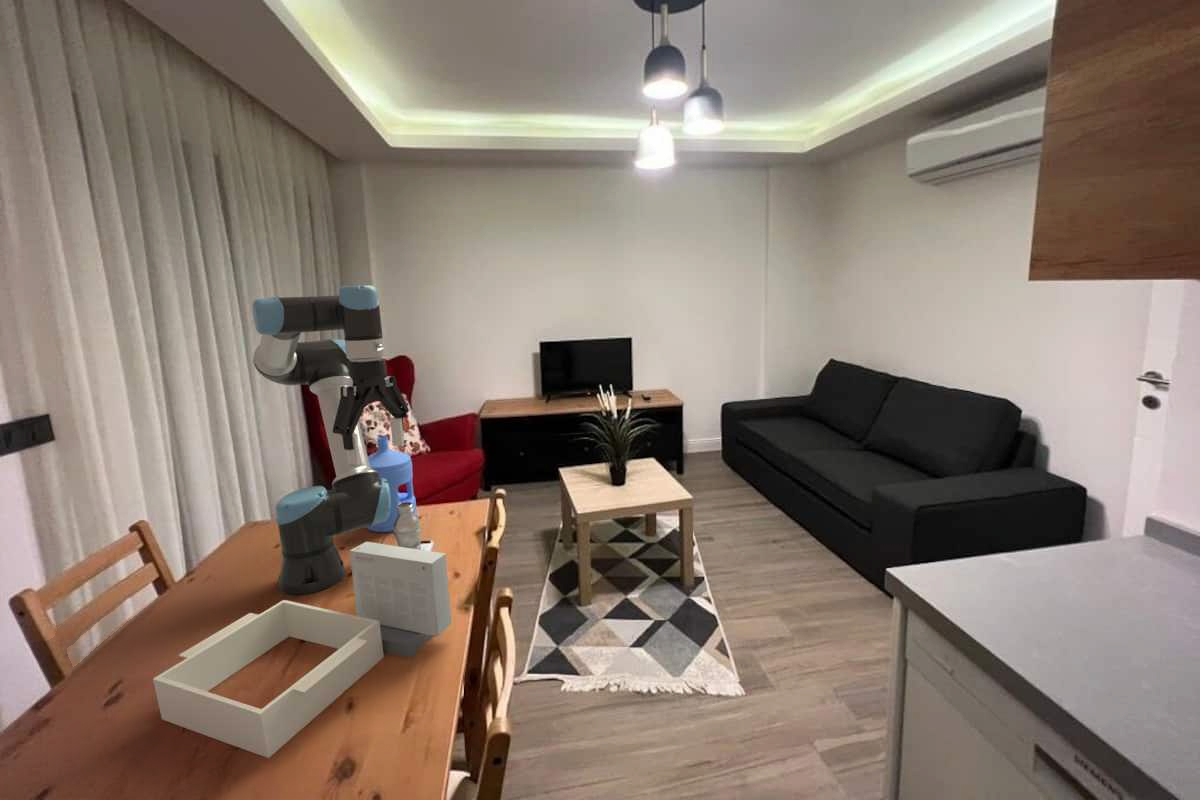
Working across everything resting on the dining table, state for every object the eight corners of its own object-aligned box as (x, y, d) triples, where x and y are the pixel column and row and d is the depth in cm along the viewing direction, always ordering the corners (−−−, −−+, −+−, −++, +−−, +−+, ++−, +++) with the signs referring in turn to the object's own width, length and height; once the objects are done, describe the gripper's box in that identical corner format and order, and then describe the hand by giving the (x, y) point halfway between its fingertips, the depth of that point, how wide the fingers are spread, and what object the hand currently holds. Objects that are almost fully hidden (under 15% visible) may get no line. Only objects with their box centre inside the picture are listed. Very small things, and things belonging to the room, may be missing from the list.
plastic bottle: (432, 574, 142) (424, 501, 138) (413, 587, 136) (404, 511, 132) (413, 570, 145) (404, 498, 141) (393, 582, 139) (384, 508, 135)
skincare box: (454, 622, 116) (447, 552, 113) (438, 638, 111) (430, 565, 108) (374, 606, 124) (365, 539, 120) (355, 619, 119) (346, 551, 115)
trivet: (361, 646, 114) (359, 633, 114) (401, 614, 125) (399, 602, 125) (409, 658, 110) (407, 645, 109) (445, 624, 121) (444, 611, 120)
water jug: (366, 537, 166) (354, 447, 160) (365, 518, 180) (354, 435, 175) (420, 527, 172) (411, 440, 166) (415, 509, 186) (406, 428, 181)
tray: (152, 716, 97) (143, 675, 96) (280, 631, 121) (275, 597, 119) (280, 762, 86) (272, 717, 85) (393, 659, 110) (389, 623, 108)
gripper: (333, 368, 106) (347, 473, 110) (418, 351, 129) (427, 440, 133) (304, 367, 108) (318, 470, 113) (392, 351, 131) (402, 437, 136)
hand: (377, 454), depth 123 cm, fingers open, 13 cm apart
